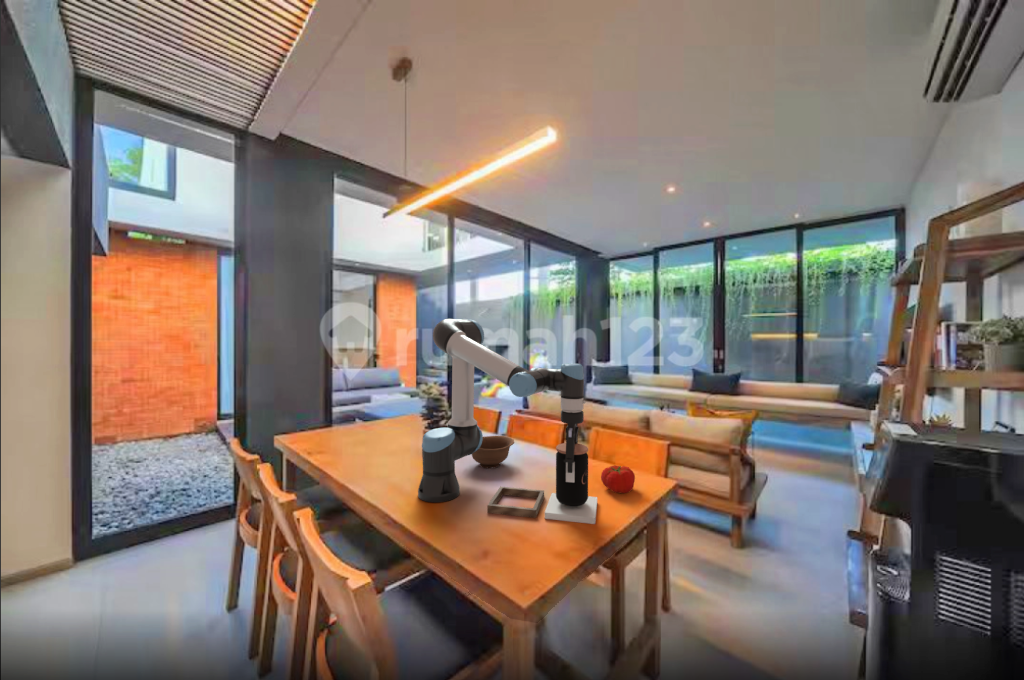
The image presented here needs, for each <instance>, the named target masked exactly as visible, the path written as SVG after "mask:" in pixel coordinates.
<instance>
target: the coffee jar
mask: <svg viewBox="0 0 1024 680" xmlns="http://www.w3.org/2000/svg"><path fill="white" fill-rule="evenodd" d="M555 449H556V451H557V452H556V454H555V493H556V498H557V499H558V501H559V502H560V503H561V504H563V505H567V506H580V505H583V504H585V503H586V501H587V499H588V496H589V455H588V451H589V447H588V446H587V445H585V444H583V443H579V442H578V443H577V444H575V451H574V462H575V482H574V483H573V482H566V462H564V460H565V459H566V442H563V443H559V444H557V445H556V446H555ZM570 459H572V458H570Z"/></svg>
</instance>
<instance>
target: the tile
mask: <svg viewBox="0 0 1024 680" xmlns="http://www.w3.org/2000/svg"><path fill="white" fill-rule="evenodd" d="M597 508H598V497H597V496H590V495H588V499H587V501H586V503H585V504H583V505H580V506H567V505H563V504H561V503H560V502H559V501H558V499H557V498H556V492H551V494H550V497H549V500H548V501H547V506H546V507H545V510H544V519H545V520H553V521H555V520H557V521H561V522H562V521H563V522H573V523H582V524H589V525H590V524H591V525H596V522H597V521H596V520H597V512H598V511H597V510H598V509H597Z"/></svg>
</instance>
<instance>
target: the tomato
mask: <svg viewBox="0 0 1024 680" xmlns="http://www.w3.org/2000/svg"><path fill="white" fill-rule="evenodd" d="M600 479H601V483H602V484H603V486H604V487H606V488H608V489H609V490H610V491H612V492H613V493H616V494H617V493H620V494H627V493H630V492H631V491H633V488H634V485H635V481H636V480H635V479H636V476H635V473H634V471H633V470H632V469H631V468H630V467H628V466H625V465H623V466H621V465H611V466H608V467H606V468H604V469H603V470H602V472H601V476H600Z"/></svg>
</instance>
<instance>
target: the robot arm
mask: <svg viewBox="0 0 1024 680" xmlns="http://www.w3.org/2000/svg"><path fill="white" fill-rule="evenodd" d="M432 331H433V332H432V339H433V342H434V344H435V345H436V347H437V348H438V349H439V350H440V351H442V352H444V353H446V354H447V355H449V356H450V357H451V358H452V359H451V360H452V361H451V363H452V364H451V367H452V368H451V371H452V372H451V381H452V382H451V383H452V384H451V418H450V419H449V420H448V421H447V427H438V428H433V429H429V430H428V431H427V432H425V433H424V434H423V436H422V443H421V448H422V449H421V450H422V451H421V453H422V477H421V480H420V483H419V485H418V489H417V497H418V499H420V500H421V501H423V502H426V503H427V502H428V503H444V502H449V501H451V500H455V499H457V498H458V497H459V496H460V493H461V491H460V489H461V488H460V487H461V486H460V484H459V481H458V478H457V475H456V472H455V471H456V466H455V465H456V464H455V463H456V461H457V460H460V459H462V458H464V457H467V456H472V453H474V452H475V451H477V450H478V449H479V448H480V446H481V444H482V440H483V437H484V436H483V432H482V430H481V428H480V426H479V425H478V421H477V420H476V419H475V418H474V408H475V406H474V404H475V403H474V402H475V399H474V398H475V397H474V396H475V368H477V369H479V370H481V371H482V372H483V373H485V374H488V376H490V377H492V378H494V379H496V380H497V381H499V382H500V383H502V384H504V385H506V386H508V387H509V390H510V392H511V393H512V394H513V395H514V396H515V397H518V398H527V397H529V396H533V395H535V394H538V393H542V392H545V391H548V392H549V391H550V392H551V391H552V392H560V409H561V411H560V421H561V423H563V424H567V426H566V427H565V443H566V459H565V460H564V462H566V482H573V483H574V482H575V462H574V451H575V444H577V443H578V444H579V441H578V439H579V426H578V424H582V423H583V422H584V421H585V420H584V417H585V416H584V415H585V414H584V413H585V412H584V404H586V400H584V393H585V391H584V390H585V389H584V387H585V386H584V385H585V384H584V383H585V382H584V381H585V375H584V366H583V365H582V364H581V363H562V364H561V365H560V368H559V369H558V368H546V367H532V368H530V369H529V370H528V369H527V368H524V367H523V366H520V365H519V364H517V363H516V362H513V361H512V360H509V359H508V358H506V357H504V356H503V355H500V354H499V353H498V352H495V351H493V350H492V349H489V348H488V347H486V346H484V345H482V344H484V339H485V331H484V329H483V326H482V325H481V324H480V323H479V322H478V321H477V320H474V319H468V318H462V319H461V318H446V319H442V320H440V321H439V322H437V324H436V325H435V326H434V328H433V330H432ZM570 458H572V459H570Z"/></svg>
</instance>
